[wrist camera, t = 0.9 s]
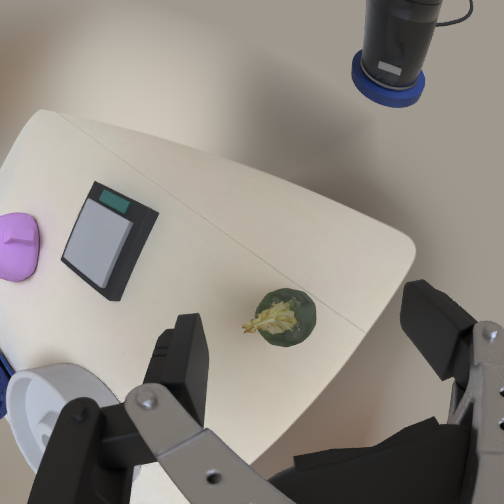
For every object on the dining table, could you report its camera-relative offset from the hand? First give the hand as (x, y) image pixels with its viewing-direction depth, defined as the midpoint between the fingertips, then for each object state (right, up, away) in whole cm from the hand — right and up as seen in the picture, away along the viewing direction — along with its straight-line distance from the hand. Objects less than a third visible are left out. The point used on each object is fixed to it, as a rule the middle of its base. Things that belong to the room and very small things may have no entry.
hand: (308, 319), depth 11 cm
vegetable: (+3, -4, +24) cm, 24 cm away
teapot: (-48, +3, +36) cm, 60 cm away
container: (-31, -29, +28) cm, 51 cm away
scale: (-24, +4, +31) cm, 39 cm away
